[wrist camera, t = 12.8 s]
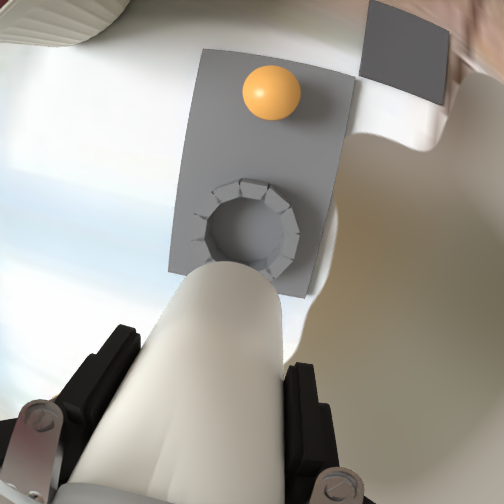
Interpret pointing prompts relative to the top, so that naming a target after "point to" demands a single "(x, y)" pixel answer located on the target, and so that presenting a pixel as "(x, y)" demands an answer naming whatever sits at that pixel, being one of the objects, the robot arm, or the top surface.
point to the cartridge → (196, 403)
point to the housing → (258, 172)
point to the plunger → (271, 93)
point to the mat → (404, 52)
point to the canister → (56, 20)
